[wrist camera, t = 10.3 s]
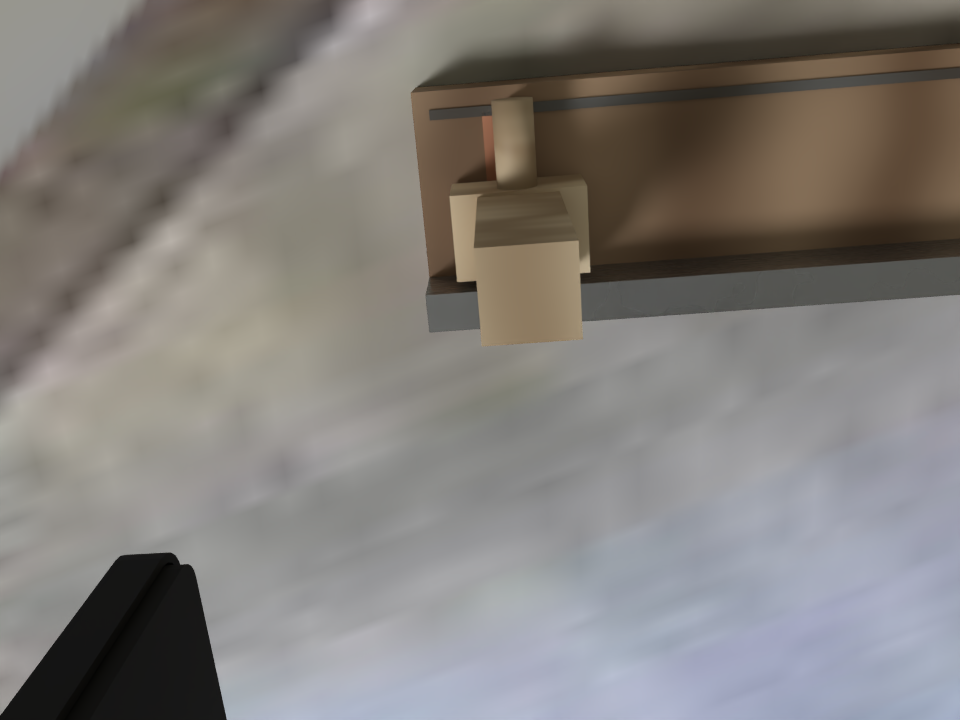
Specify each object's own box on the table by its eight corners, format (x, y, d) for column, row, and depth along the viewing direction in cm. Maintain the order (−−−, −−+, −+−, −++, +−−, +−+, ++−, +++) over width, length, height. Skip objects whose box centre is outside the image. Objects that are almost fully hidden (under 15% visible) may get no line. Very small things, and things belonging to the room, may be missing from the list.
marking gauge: (577, 90, 27) (610, 121, 20) (583, 255, 29) (616, 341, 21) (444, 100, 27) (427, 135, 20) (459, 264, 29) (449, 352, 22)
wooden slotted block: (982, 41, 29) (1056, 46, 25) (957, 256, 31) (1021, 290, 27) (415, 87, 29) (404, 99, 25) (436, 294, 32) (429, 332, 28)
